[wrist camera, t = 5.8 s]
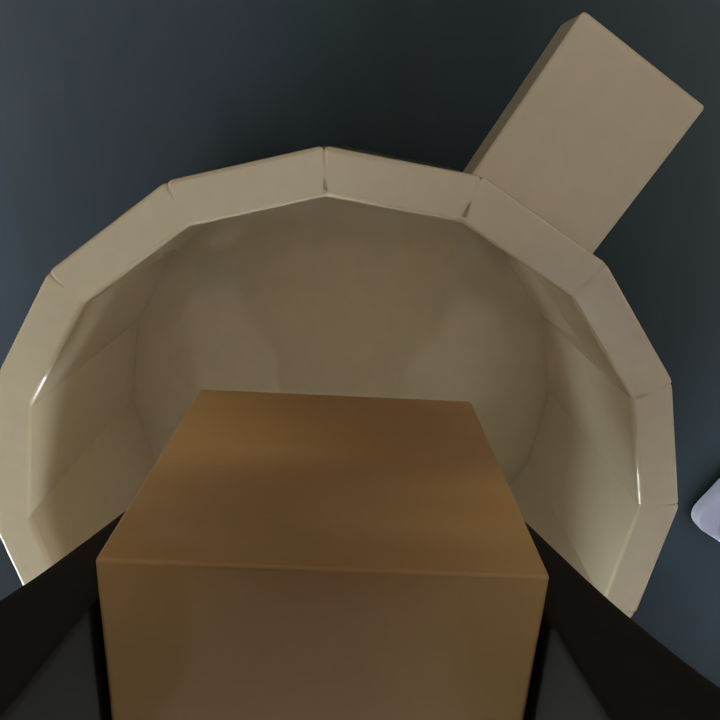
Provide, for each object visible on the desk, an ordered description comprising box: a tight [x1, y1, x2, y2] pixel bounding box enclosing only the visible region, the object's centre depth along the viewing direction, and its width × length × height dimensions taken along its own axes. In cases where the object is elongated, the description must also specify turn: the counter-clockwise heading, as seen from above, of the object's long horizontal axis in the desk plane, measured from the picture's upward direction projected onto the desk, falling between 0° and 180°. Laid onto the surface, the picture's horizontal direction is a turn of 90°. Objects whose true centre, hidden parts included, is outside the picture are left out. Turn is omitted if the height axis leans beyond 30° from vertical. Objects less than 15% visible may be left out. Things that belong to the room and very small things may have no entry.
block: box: [96, 390, 549, 720], centre depth 9 cm, size 4×4×4 cm
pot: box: [0, 12, 704, 618], centre depth 14 cm, size 12×17×6 cm
